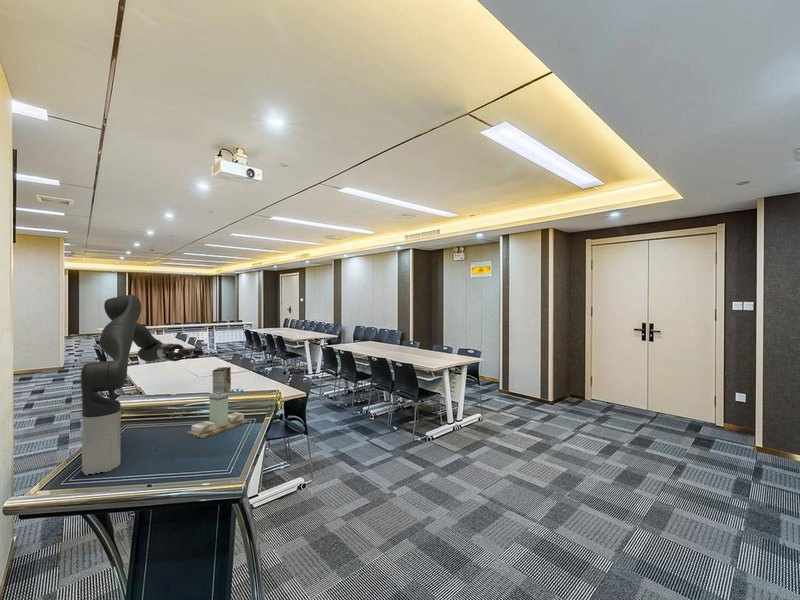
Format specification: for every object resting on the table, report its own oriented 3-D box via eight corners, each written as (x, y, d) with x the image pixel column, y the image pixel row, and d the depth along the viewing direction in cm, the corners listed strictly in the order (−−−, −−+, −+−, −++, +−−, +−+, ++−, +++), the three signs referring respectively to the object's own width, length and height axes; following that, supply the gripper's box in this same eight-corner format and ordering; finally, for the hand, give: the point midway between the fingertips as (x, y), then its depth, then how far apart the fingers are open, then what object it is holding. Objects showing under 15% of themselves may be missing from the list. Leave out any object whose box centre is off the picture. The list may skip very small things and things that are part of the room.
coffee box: (219, 395, 198) (219, 367, 198) (231, 395, 199) (231, 366, 199) (212, 400, 189) (212, 370, 189) (224, 400, 189) (224, 369, 190)
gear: (225, 405, 174) (227, 387, 181) (224, 411, 178) (225, 393, 184) (249, 405, 179) (250, 388, 186) (247, 411, 183) (248, 394, 189)
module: (218, 428, 143) (218, 398, 143) (209, 425, 145) (209, 396, 145) (228, 424, 147) (228, 395, 147) (219, 422, 149) (219, 394, 149)
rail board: (203, 438, 135) (203, 429, 135) (187, 434, 139) (187, 424, 139) (247, 423, 152) (247, 414, 152) (232, 419, 157) (232, 411, 157)
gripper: (153, 345, 152) (175, 347, 144) (186, 342, 165) (208, 343, 157) (153, 362, 152) (175, 365, 144) (186, 358, 165) (208, 360, 157)
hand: (192, 354), depth 151 cm, fingers open, 8 cm apart
